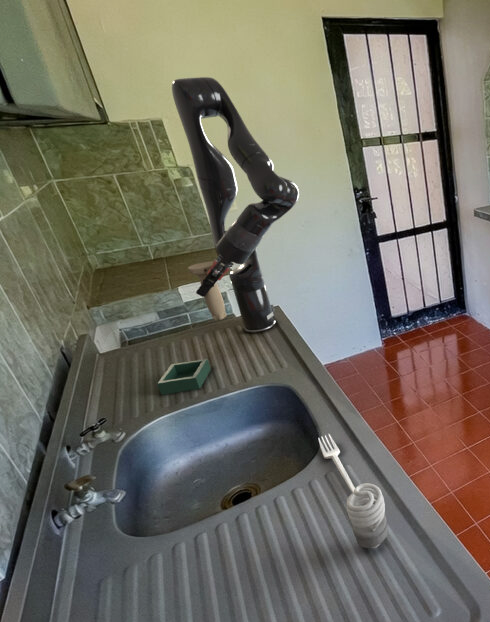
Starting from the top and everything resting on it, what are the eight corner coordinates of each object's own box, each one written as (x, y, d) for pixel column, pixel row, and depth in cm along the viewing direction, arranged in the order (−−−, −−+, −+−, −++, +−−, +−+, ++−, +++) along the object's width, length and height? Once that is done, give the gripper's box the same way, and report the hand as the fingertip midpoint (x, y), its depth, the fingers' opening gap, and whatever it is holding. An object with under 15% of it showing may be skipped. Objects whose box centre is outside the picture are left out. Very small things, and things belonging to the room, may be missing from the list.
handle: (235, 317, 122) (218, 264, 115) (208, 324, 118) (189, 270, 112) (231, 311, 125) (214, 260, 119) (204, 318, 122) (186, 266, 115)
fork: (350, 504, 83) (348, 497, 82) (317, 445, 98) (315, 438, 97) (367, 496, 84) (365, 488, 84) (332, 439, 99) (331, 432, 98)
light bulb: (398, 545, 75) (388, 491, 70) (368, 567, 71) (355, 512, 66) (379, 524, 79) (369, 472, 73) (350, 545, 75) (337, 492, 70)
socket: (175, 374, 126) (171, 364, 125) (211, 369, 128) (207, 358, 127) (161, 394, 117) (156, 383, 116) (199, 388, 119) (195, 377, 118)
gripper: (232, 225, 120) (196, 274, 122) (218, 239, 107) (178, 294, 110) (259, 242, 123) (223, 290, 126) (248, 258, 111) (208, 310, 113)
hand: (202, 291), depth 118 cm, fingers closed on handle, 3 cm apart
